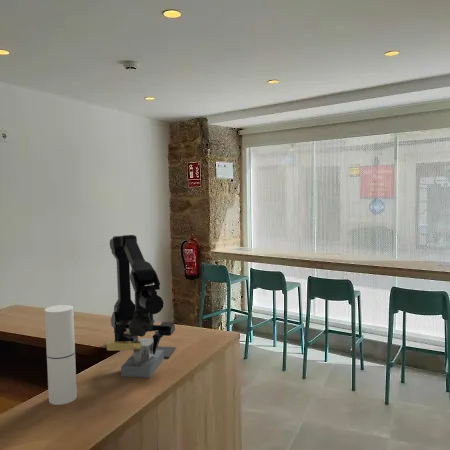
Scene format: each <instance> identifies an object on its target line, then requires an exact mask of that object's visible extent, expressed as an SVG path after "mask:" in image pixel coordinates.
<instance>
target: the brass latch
mask: <svg viewBox="0 0 450 450" xmlns="http://www.w3.org/2000/svg"><path fill="white" fill-rule="evenodd" d="M139 350H141V341H139V340H138V341H115V340H112V341H111V340H110V341H107V342H106V351H133V352H134V351H139Z"/></svg>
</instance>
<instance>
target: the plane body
mask: <svg viewBox="0 0 450 450" xmlns="http://www.w3.org/2000/svg"><path fill="white" fill-rule="evenodd" d="M164 359H165V358H164V350H156V353H155V355H153V357H152V358H151V359H150V360H141V352H140V350H139V351H134V350H133V354H132V355H131V356H130V357H129V358H128V359H127V360H125V362H124V363H123V364H122V365H121V366H120V370H121V371H120V374H121V375H120V377H128V378H145V379H150V378H151V377H152V376H153V375H154V374H155V372H156V371H157V370H158V368H159V367H160V366H161V364H162V362H163V361H164Z"/></svg>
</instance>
